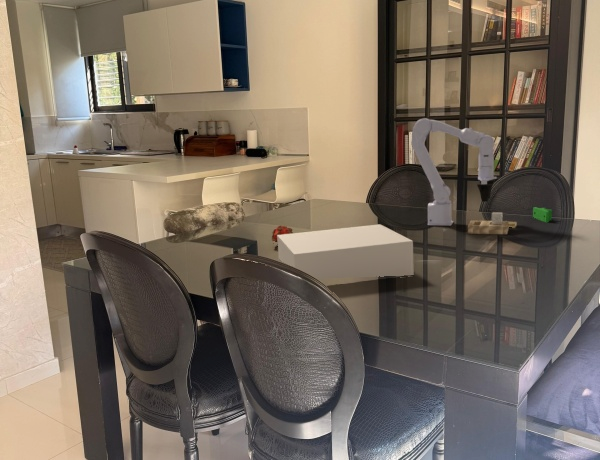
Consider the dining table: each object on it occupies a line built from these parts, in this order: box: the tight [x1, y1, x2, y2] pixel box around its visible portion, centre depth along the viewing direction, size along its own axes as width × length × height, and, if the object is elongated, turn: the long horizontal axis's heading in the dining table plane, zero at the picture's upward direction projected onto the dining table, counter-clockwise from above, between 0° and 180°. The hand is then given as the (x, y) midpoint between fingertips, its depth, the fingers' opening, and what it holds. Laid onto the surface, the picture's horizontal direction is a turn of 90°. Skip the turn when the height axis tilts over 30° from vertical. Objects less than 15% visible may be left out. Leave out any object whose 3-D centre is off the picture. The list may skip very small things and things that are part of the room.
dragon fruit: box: [271, 225, 294, 242], centre depth 211 cm, size 8×8×12 cm
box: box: [277, 224, 415, 280], centre depth 174 cm, size 28×35×11 cm
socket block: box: [467, 220, 510, 235], centre depth 216 cm, size 14×10×3 cm
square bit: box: [491, 211, 503, 225], centre depth 214 cm, size 4×4×7 cm
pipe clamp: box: [532, 206, 553, 223], centre depth 230 cm, size 11×4×5 cm, turn 4°
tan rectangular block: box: [509, 221, 517, 229], centre depth 221 cm, size 6×4×2 cm, turn 63°
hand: (485, 199), depth 227 cm, fingers open, 7 cm apart
